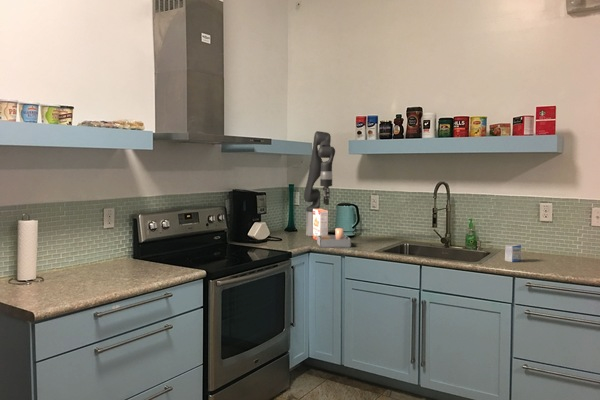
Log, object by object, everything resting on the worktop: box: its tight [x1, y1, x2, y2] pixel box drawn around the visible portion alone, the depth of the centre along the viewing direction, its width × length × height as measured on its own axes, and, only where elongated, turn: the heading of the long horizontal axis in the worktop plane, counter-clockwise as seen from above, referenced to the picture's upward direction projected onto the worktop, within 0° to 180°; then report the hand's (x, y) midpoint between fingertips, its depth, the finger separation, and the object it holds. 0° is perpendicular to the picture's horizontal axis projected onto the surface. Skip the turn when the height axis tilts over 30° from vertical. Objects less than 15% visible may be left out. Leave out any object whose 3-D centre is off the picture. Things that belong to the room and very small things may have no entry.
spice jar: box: [335, 227, 344, 239], centre depth 319 cm, size 5×5×10 cm
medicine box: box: [504, 243, 522, 263], centre depth 272 cm, size 8×4×9 cm, turn 122°
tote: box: [316, 234, 352, 249], centre depth 319 cm, size 17×19×5 cm
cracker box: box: [312, 208, 329, 241], centre depth 337 cm, size 14×6×21 cm, turn 19°
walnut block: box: [321, 236, 330, 240], centre depth 318 cm, size 5×5×5 cm
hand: (326, 204), depth 316 cm, fingers open, 8 cm apart
